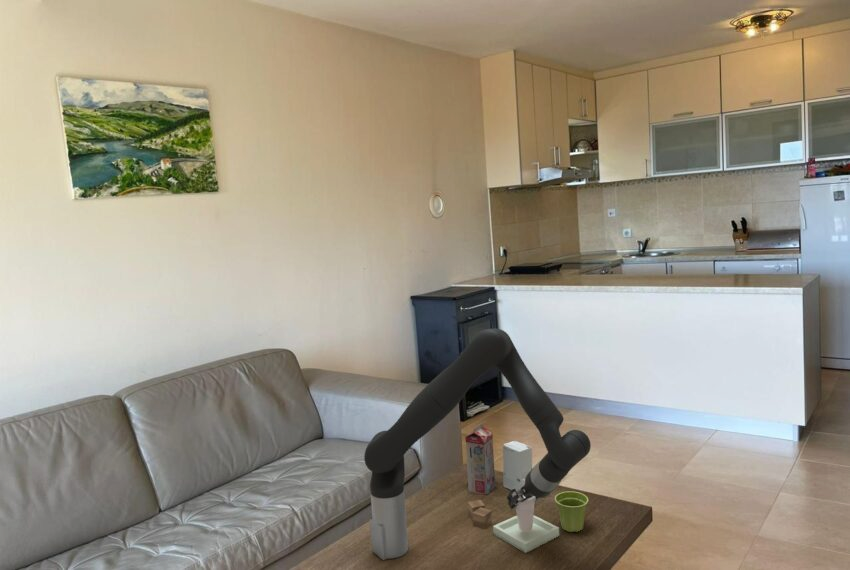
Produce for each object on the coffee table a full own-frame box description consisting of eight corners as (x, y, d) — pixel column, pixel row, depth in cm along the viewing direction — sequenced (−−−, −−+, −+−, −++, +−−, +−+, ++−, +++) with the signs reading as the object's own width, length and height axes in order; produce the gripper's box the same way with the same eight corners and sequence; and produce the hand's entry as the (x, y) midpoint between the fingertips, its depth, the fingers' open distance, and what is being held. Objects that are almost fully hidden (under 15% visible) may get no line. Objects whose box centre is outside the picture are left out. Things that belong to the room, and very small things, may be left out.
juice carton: (495, 486, 210) (491, 422, 208) (486, 494, 205) (483, 429, 202) (477, 483, 214) (473, 420, 211) (468, 491, 208) (464, 427, 205)
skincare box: (503, 487, 209) (500, 444, 208) (516, 481, 213) (513, 439, 211) (521, 495, 203) (519, 451, 201) (534, 489, 206) (532, 445, 204)
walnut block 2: (484, 529, 183) (483, 516, 183) (473, 525, 186) (472, 512, 185) (492, 523, 186) (491, 510, 186) (480, 519, 189) (480, 507, 188)
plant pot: (595, 525, 181) (594, 496, 180) (578, 539, 174) (577, 509, 173) (566, 516, 188) (565, 488, 187) (549, 529, 181) (548, 500, 180)
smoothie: (536, 522, 181) (534, 475, 179) (538, 533, 174) (536, 485, 173) (513, 522, 181) (511, 476, 180) (514, 533, 175) (512, 485, 173)
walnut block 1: (473, 520, 189) (472, 507, 188) (468, 514, 193) (467, 502, 192) (485, 517, 190) (484, 505, 189) (480, 512, 194) (480, 499, 193)
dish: (525, 553, 169) (525, 544, 169) (493, 534, 180) (493, 526, 180) (559, 536, 177) (558, 527, 176) (526, 519, 187) (526, 511, 187)
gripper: (559, 458, 172) (536, 484, 184) (515, 470, 166) (494, 496, 178) (573, 484, 168) (548, 508, 180) (527, 497, 162) (505, 522, 174)
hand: (521, 502), depth 179 cm, fingers closed on smoothie, 6 cm apart
